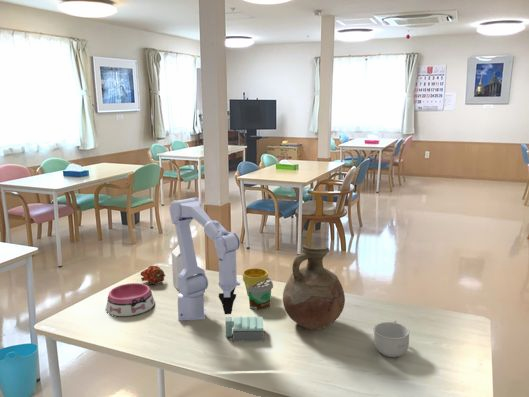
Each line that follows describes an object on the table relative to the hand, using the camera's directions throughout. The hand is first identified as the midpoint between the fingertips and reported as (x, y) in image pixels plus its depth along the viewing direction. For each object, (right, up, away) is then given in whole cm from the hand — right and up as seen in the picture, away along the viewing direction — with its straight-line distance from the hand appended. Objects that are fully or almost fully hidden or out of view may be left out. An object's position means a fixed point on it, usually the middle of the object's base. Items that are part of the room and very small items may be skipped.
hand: (228, 308), depth 150 cm
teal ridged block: (+5, -9, +2) cm, 11 cm away
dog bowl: (-40, -6, +25) cm, 48 cm away
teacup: (+53, -12, -6) cm, 55 cm away
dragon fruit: (-37, -1, +48) cm, 61 cm away
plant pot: (+8, -3, +36) cm, 37 cm away
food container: (+12, -6, +24) cm, 27 cm away
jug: (+29, -9, +10) cm, 32 cm away
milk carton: (-23, -1, +44) cm, 50 cm away
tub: (+6, -10, +2) cm, 12 cm away
